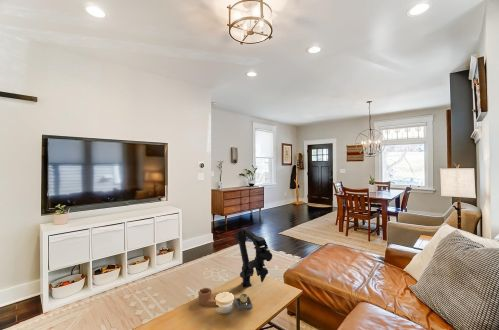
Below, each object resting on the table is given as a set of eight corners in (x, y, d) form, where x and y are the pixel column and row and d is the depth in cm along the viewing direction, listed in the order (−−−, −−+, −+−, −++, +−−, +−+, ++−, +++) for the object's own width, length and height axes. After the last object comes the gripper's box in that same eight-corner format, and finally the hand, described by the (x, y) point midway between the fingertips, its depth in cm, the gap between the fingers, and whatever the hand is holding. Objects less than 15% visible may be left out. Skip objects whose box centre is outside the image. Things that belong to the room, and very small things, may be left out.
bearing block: (235, 302, 151) (235, 298, 151) (248, 300, 154) (248, 296, 154) (238, 310, 142) (237, 306, 142) (252, 308, 145) (252, 304, 145)
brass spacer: (239, 303, 150) (239, 294, 150) (246, 302, 151) (246, 293, 151) (240, 307, 145) (240, 298, 145) (247, 306, 146) (247, 297, 146)
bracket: (196, 305, 149) (196, 294, 149) (201, 297, 157) (201, 287, 157) (224, 306, 147) (224, 295, 147) (226, 299, 155) (226, 289, 155)
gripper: (245, 252, 168) (245, 274, 167) (251, 262, 149) (252, 287, 149) (260, 251, 170) (260, 272, 170) (268, 261, 152) (268, 285, 152)
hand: (260, 279), depth 160 cm, fingers open, 9 cm apart
